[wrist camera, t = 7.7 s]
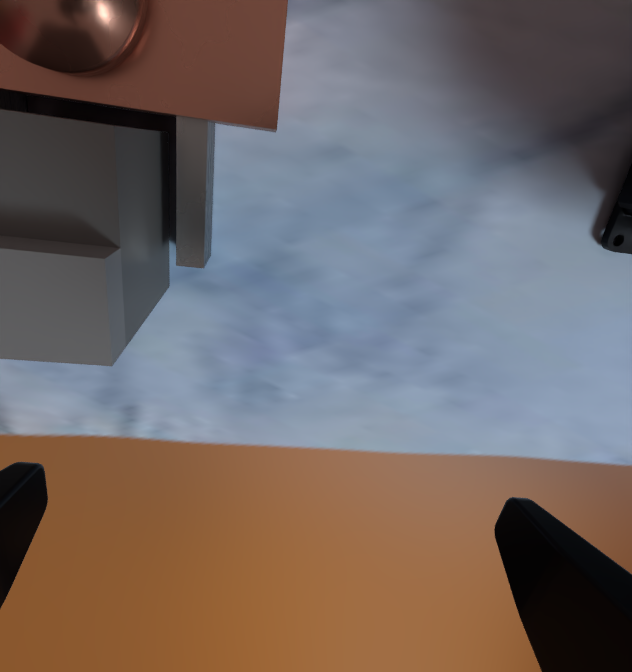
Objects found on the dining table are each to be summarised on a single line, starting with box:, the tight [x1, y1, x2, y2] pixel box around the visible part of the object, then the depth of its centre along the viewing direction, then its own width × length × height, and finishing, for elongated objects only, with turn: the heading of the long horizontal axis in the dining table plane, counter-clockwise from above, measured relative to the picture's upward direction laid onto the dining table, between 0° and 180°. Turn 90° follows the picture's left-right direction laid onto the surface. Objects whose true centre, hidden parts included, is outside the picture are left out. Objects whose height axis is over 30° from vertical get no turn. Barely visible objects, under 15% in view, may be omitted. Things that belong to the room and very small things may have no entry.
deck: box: [0, 0, 288, 268], centre depth 13 cm, size 12×10×4 cm
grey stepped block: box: [0, 109, 169, 366], centre depth 13 cm, size 4×6×7 cm, turn 172°
